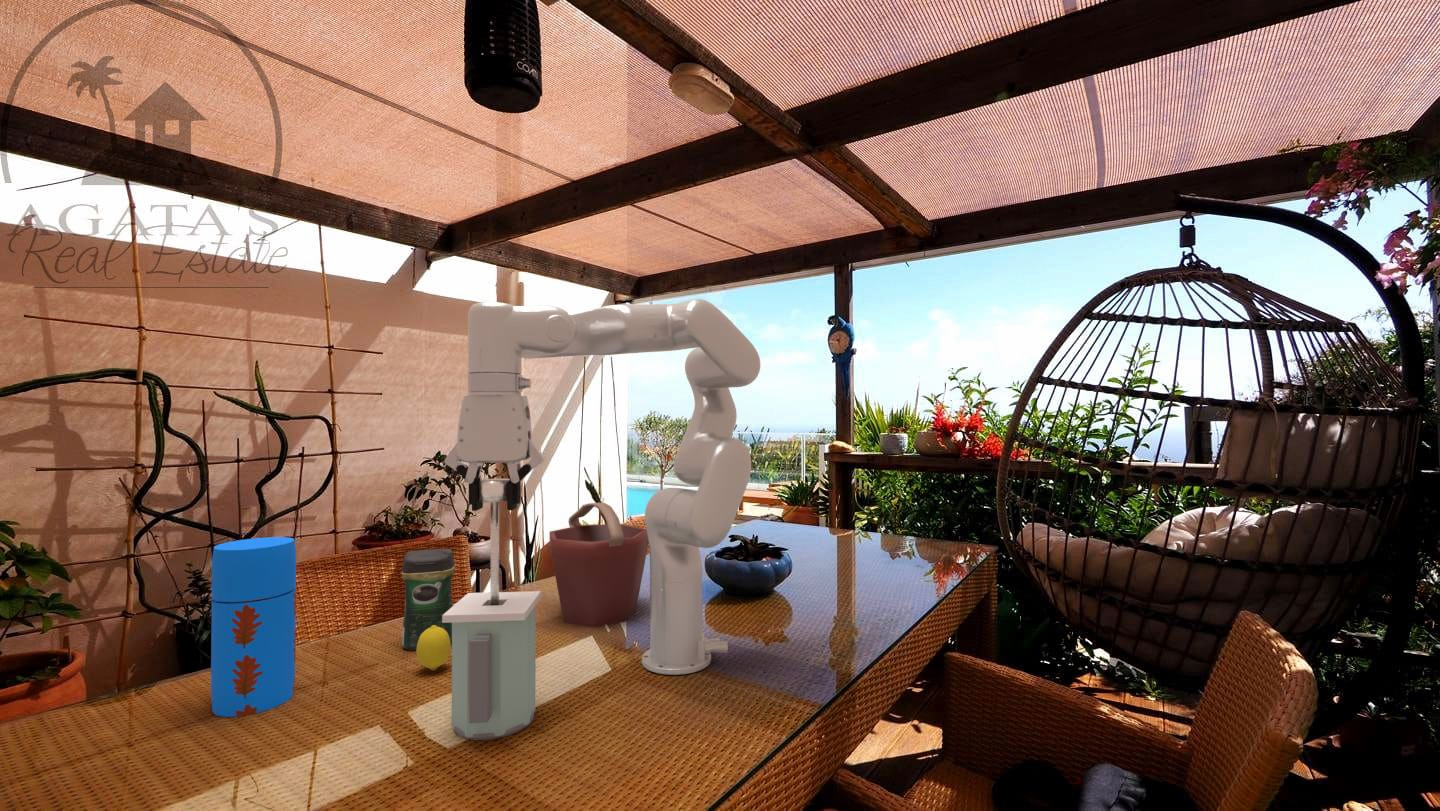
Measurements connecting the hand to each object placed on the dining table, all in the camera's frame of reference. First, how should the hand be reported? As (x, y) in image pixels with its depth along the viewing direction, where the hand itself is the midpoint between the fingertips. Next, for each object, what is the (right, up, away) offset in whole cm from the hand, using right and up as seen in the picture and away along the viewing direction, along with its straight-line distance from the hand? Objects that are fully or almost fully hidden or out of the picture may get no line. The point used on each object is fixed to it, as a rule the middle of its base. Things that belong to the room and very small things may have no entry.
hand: (494, 508), depth 94 cm
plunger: (0, -20, 0) cm, 20 cm away
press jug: (0, -31, -2) cm, 31 cm away
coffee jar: (-24, -32, +32) cm, 51 cm away
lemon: (-17, -32, +18) cm, 41 cm away
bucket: (+6, -32, +50) cm, 60 cm away
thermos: (-41, -32, +6) cm, 52 cm away
